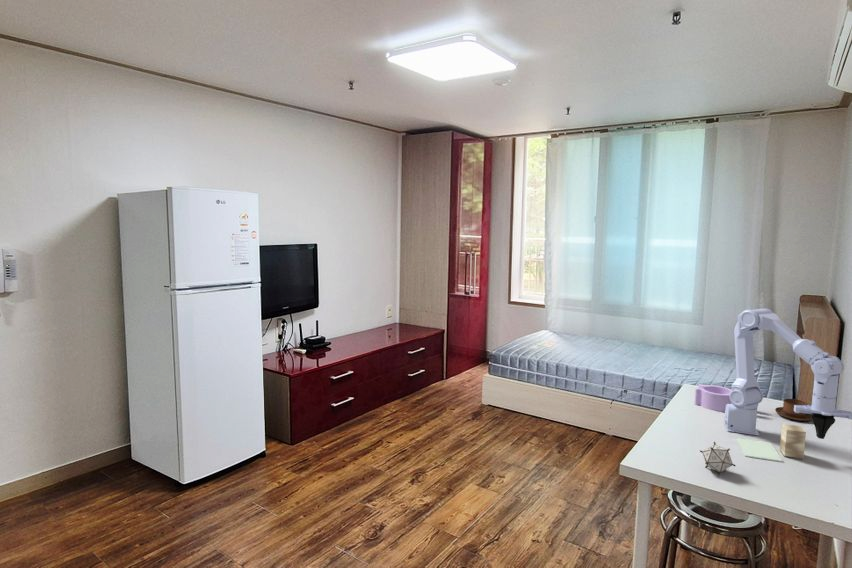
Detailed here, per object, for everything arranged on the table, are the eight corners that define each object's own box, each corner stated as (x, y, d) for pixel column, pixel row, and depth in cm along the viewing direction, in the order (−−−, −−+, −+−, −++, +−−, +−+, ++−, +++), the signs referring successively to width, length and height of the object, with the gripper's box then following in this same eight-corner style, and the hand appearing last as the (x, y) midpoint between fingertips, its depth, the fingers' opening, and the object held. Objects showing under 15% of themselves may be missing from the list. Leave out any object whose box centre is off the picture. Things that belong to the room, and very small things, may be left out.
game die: (710, 479, 151) (704, 445, 155) (741, 478, 145) (734, 443, 150) (699, 473, 145) (694, 439, 150) (731, 472, 140) (724, 436, 145)
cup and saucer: (811, 415, 193) (812, 400, 192) (816, 426, 182) (817, 409, 182) (773, 409, 199) (774, 394, 198) (776, 419, 189) (777, 403, 188)
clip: (755, 409, 199) (756, 392, 198) (750, 418, 189) (752, 401, 188) (699, 398, 211) (700, 382, 210) (692, 406, 202) (693, 390, 201)
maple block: (784, 457, 157) (786, 429, 156) (779, 450, 162) (782, 423, 161) (803, 459, 156) (806, 432, 154) (798, 453, 160) (800, 426, 159)
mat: (745, 456, 157) (745, 455, 157) (736, 439, 170) (736, 438, 170) (782, 462, 154) (782, 460, 154) (770, 443, 167) (770, 442, 167)
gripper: (800, 396, 153) (796, 438, 154) (859, 402, 147) (854, 446, 149) (793, 389, 159) (789, 430, 161) (849, 395, 154) (844, 437, 156)
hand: (820, 437), depth 155 cm, fingers closed
